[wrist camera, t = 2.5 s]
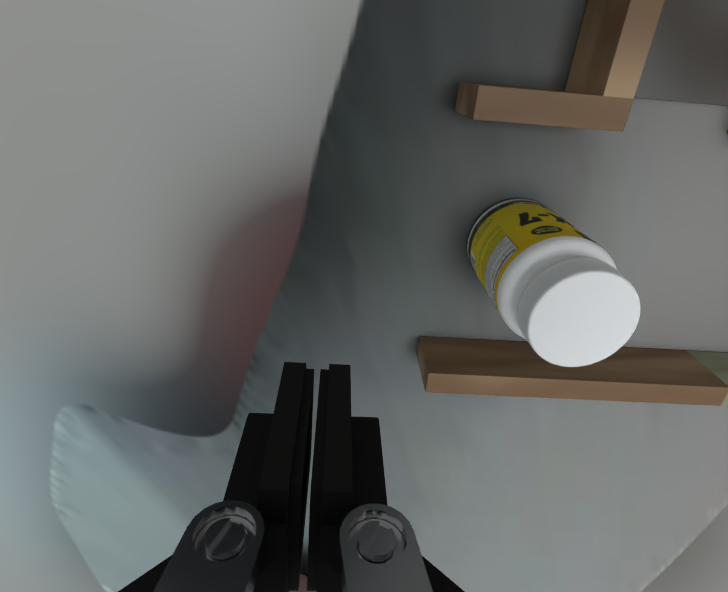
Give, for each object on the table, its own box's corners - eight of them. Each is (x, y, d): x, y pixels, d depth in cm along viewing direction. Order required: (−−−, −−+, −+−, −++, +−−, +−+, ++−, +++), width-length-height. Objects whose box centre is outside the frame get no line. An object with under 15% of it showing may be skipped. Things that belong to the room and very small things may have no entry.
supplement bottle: (574, 213, 23) (682, 285, 16) (530, 293, 25) (606, 390, 18) (489, 183, 22) (560, 243, 15) (450, 267, 24) (495, 358, 17)
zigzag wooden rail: (492, -132, 17) (524, -176, 14) (1013, -71, 18) (1150, -99, 15) (416, 353, 27) (425, 392, 24) (760, 371, 28) (811, 409, 25)
